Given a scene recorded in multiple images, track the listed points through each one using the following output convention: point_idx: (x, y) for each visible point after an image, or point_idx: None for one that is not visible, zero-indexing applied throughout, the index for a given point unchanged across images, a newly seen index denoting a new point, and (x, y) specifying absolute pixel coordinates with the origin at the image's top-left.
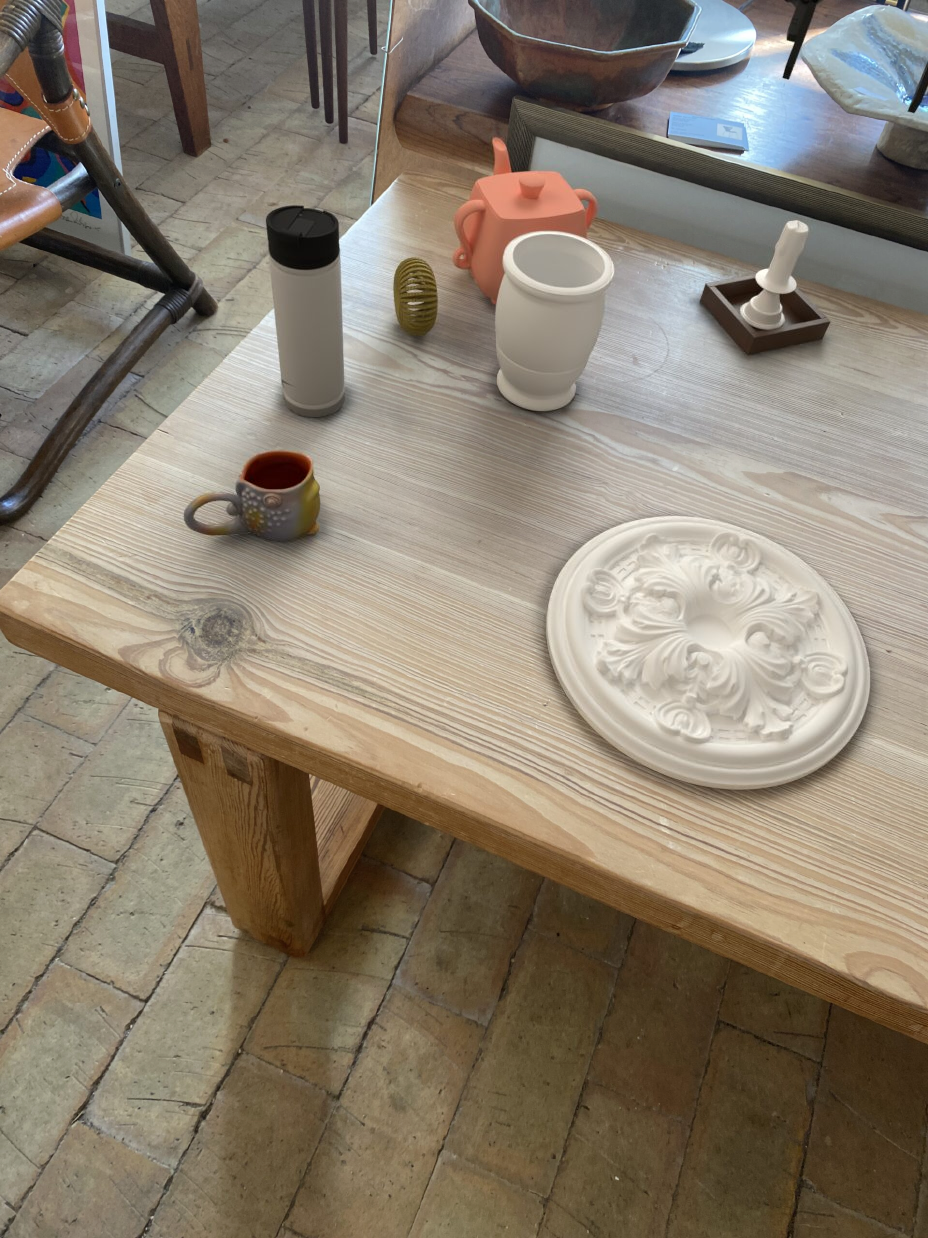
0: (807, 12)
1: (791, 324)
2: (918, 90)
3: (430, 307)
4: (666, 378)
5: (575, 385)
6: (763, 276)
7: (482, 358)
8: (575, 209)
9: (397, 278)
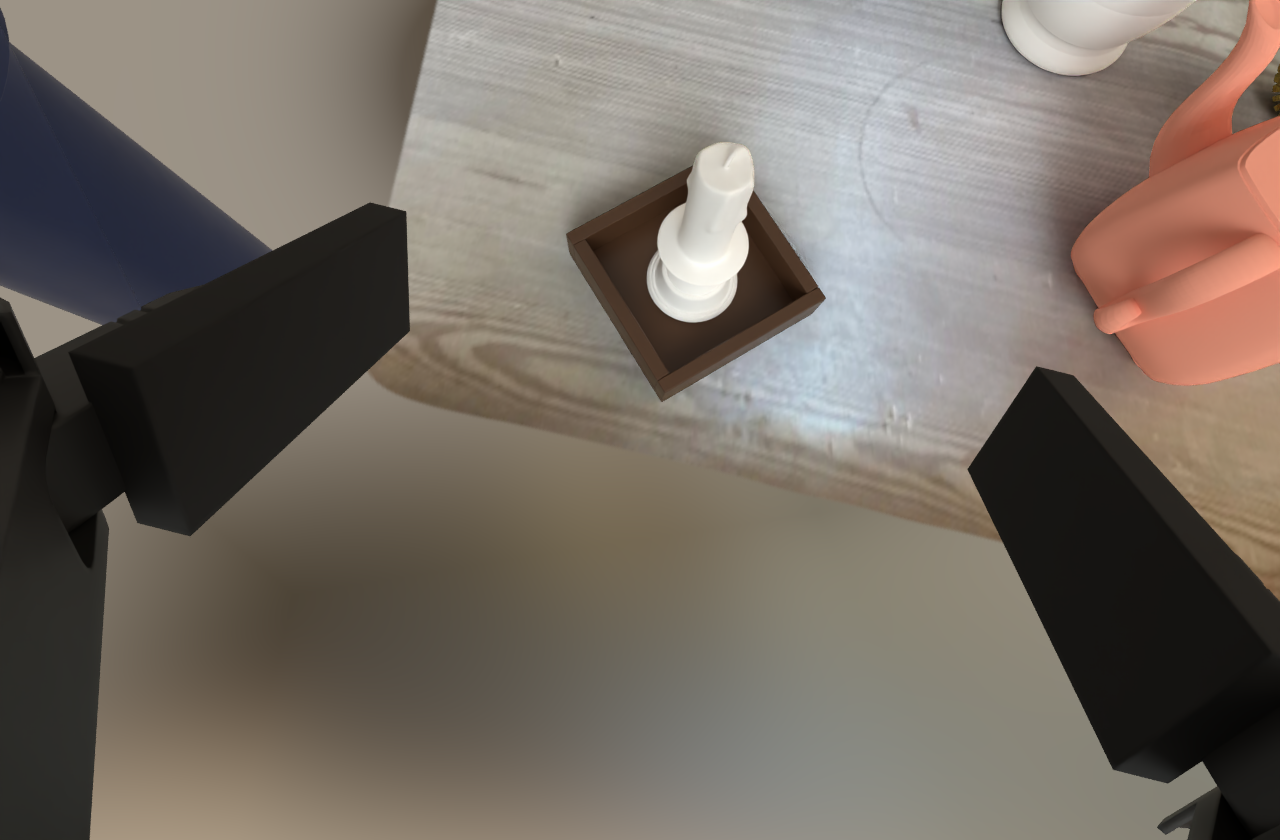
0: (1254, 588)
1: (632, 269)
2: (380, 223)
3: None
4: (856, 86)
5: (1007, 18)
6: (731, 247)
7: (1158, 70)
8: (1261, 155)
9: None
